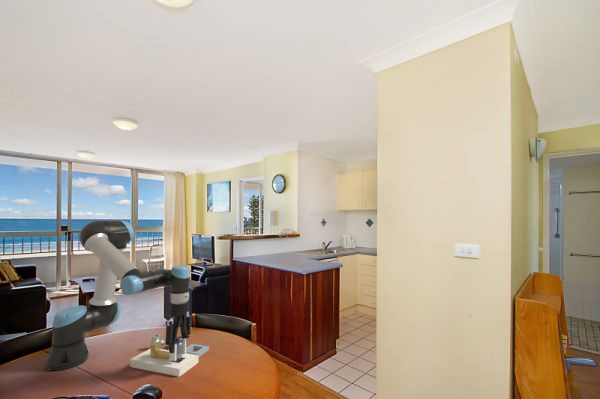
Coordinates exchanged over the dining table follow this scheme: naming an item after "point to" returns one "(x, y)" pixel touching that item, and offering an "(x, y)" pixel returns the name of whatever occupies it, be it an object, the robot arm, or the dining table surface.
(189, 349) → the gray square-hole plate
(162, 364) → the socket board
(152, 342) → the valve
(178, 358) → the drill peg
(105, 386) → the dining table surface
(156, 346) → the yellow l-shaped bracket
